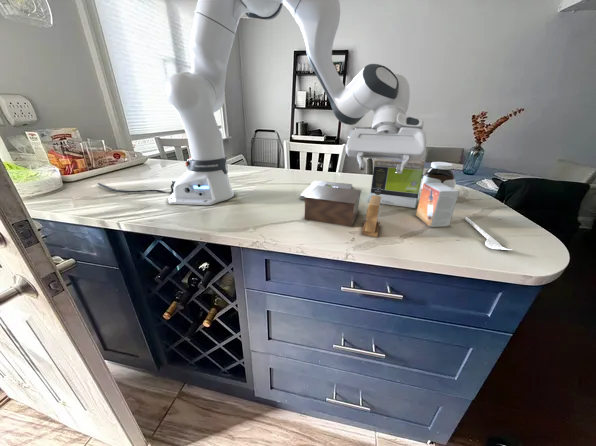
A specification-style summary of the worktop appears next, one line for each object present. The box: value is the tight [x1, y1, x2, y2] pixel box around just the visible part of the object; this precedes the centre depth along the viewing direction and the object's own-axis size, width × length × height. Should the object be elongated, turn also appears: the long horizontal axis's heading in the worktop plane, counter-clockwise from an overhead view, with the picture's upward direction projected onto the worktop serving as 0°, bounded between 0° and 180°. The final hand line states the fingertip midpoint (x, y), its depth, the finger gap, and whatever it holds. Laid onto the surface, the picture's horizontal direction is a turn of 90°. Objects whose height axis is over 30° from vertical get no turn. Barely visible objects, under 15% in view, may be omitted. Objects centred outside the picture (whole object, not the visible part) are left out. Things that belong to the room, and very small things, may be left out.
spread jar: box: [421, 161, 457, 189], centre depth 92 cm, size 12×11×12 cm
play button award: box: [300, 180, 353, 201], centre depth 94 cm, size 16×2×20 cm
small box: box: [415, 183, 460, 228], centre depth 69 cm, size 8×6×10 cm
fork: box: [463, 216, 514, 251], centre depth 63 cm, size 3×20×2 cm, turn 170°
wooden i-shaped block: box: [361, 196, 381, 238], centre depth 64 cm, size 4×7×9 cm, turn 159°
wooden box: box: [304, 185, 362, 227], centre depth 74 cm, size 14×12×7 cm
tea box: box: [369, 158, 425, 209], centre depth 83 cm, size 15×10×15 cm, turn 65°
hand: (379, 170), depth 64 cm, fingers open, 8 cm apart
